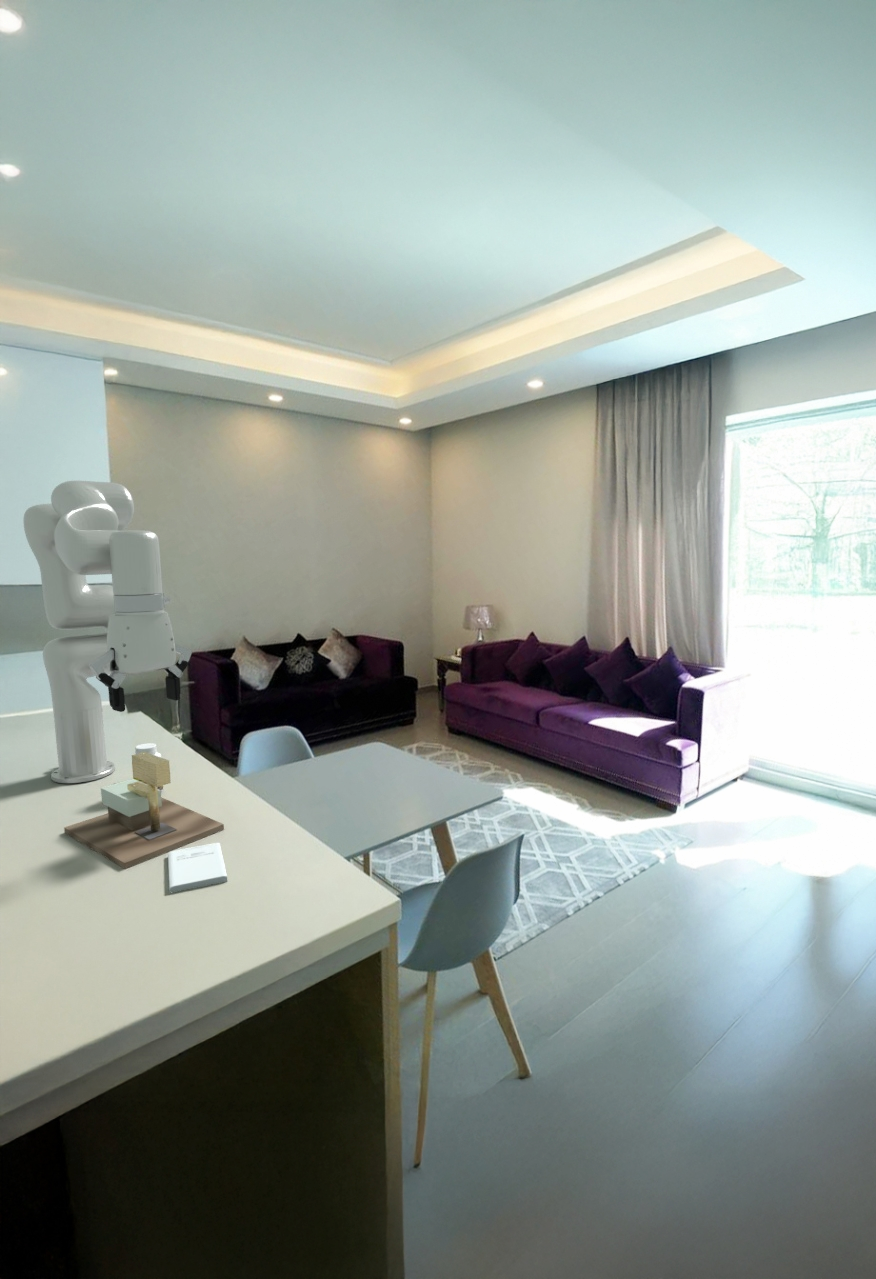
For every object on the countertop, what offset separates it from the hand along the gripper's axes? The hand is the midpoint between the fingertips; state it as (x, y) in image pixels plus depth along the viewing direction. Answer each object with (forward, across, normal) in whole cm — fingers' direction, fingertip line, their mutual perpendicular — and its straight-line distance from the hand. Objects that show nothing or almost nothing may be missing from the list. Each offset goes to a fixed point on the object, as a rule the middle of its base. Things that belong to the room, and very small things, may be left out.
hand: (146, 704), depth 110 cm
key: (+22, 0, -2) cm, 22 cm away
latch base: (+24, 0, -4) cm, 24 cm away
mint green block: (+20, 0, -8) cm, 22 cm away
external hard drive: (+25, +2, +16) cm, 30 cm away
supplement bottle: (+24, -10, -21) cm, 34 cm away
